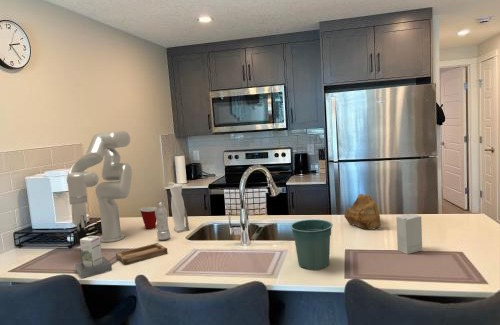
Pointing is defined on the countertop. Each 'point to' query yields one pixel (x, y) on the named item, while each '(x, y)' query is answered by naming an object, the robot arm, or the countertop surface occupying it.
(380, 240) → the countertop surface
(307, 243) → the flower pot
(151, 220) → the plastic cup
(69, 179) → the robot arm
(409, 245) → the skincare box
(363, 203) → the rough brown rock
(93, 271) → the socket
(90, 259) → the syrup box
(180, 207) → the skyscraper
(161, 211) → the plastic bottle
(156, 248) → the wooden tray
